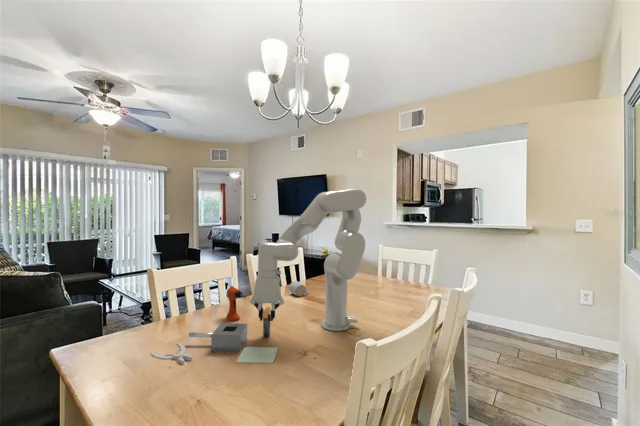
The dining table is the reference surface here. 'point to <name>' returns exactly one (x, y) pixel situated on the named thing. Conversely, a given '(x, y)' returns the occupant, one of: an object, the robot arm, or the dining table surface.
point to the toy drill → (233, 303)
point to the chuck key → (266, 322)
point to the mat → (257, 355)
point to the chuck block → (226, 337)
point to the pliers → (176, 355)
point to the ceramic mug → (297, 288)
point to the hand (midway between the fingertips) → (266, 319)
